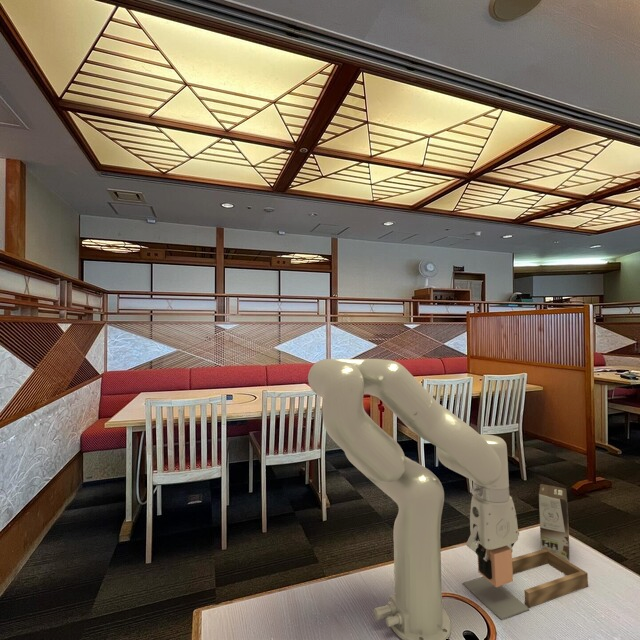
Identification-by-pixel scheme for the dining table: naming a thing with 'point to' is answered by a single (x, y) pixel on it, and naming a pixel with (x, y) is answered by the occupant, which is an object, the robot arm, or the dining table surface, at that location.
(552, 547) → the coffee box
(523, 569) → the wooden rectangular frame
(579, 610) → the dining table surface
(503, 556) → the block
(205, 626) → the dining table surface
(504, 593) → the mat
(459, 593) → the dining table surface
